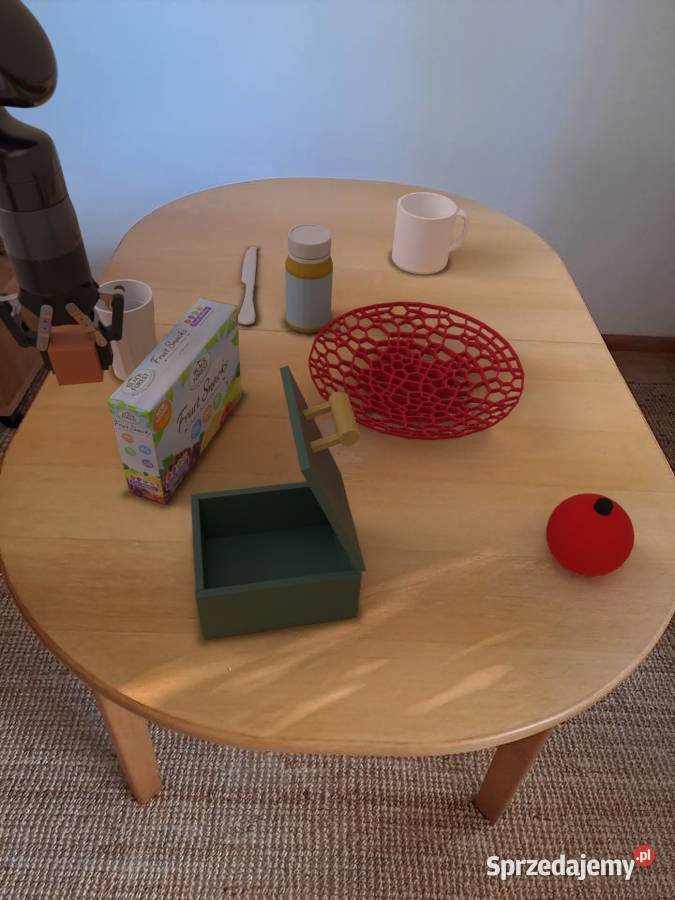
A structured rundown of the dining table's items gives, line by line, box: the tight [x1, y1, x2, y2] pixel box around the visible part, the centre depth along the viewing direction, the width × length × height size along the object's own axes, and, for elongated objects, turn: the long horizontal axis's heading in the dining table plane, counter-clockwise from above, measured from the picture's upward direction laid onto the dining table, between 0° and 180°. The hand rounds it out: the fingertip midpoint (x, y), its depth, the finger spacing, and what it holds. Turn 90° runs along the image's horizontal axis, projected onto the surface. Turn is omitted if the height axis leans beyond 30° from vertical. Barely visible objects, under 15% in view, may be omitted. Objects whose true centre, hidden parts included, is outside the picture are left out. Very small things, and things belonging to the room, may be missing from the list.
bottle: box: [284, 223, 334, 335], centre depth 100 cm, size 7×7×15 cm
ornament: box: [545, 492, 636, 578], centre depth 72 cm, size 9×9×10 cm
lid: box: [279, 365, 367, 574], centre depth 62 cm, size 16×13×5 cm
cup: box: [94, 278, 158, 382], centre depth 91 cm, size 8×8×12 cm
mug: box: [391, 191, 471, 276], centre depth 116 cm, size 13×10×10 cm
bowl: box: [307, 300, 525, 442], centre depth 93 cm, size 29×30×5 cm
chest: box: [190, 480, 363, 641], centre depth 70 cm, size 16×13×8 cm
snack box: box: [107, 297, 243, 505], centre depth 81 cm, size 21×6×15 cm, turn 161°
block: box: [48, 324, 105, 387], centre depth 79 cm, size 5×5×5 cm
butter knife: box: [238, 245, 257, 326], centre depth 112 cm, size 1×24×3 cm
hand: (81, 367), depth 81 cm, fingers closed on block, 5 cm apart
